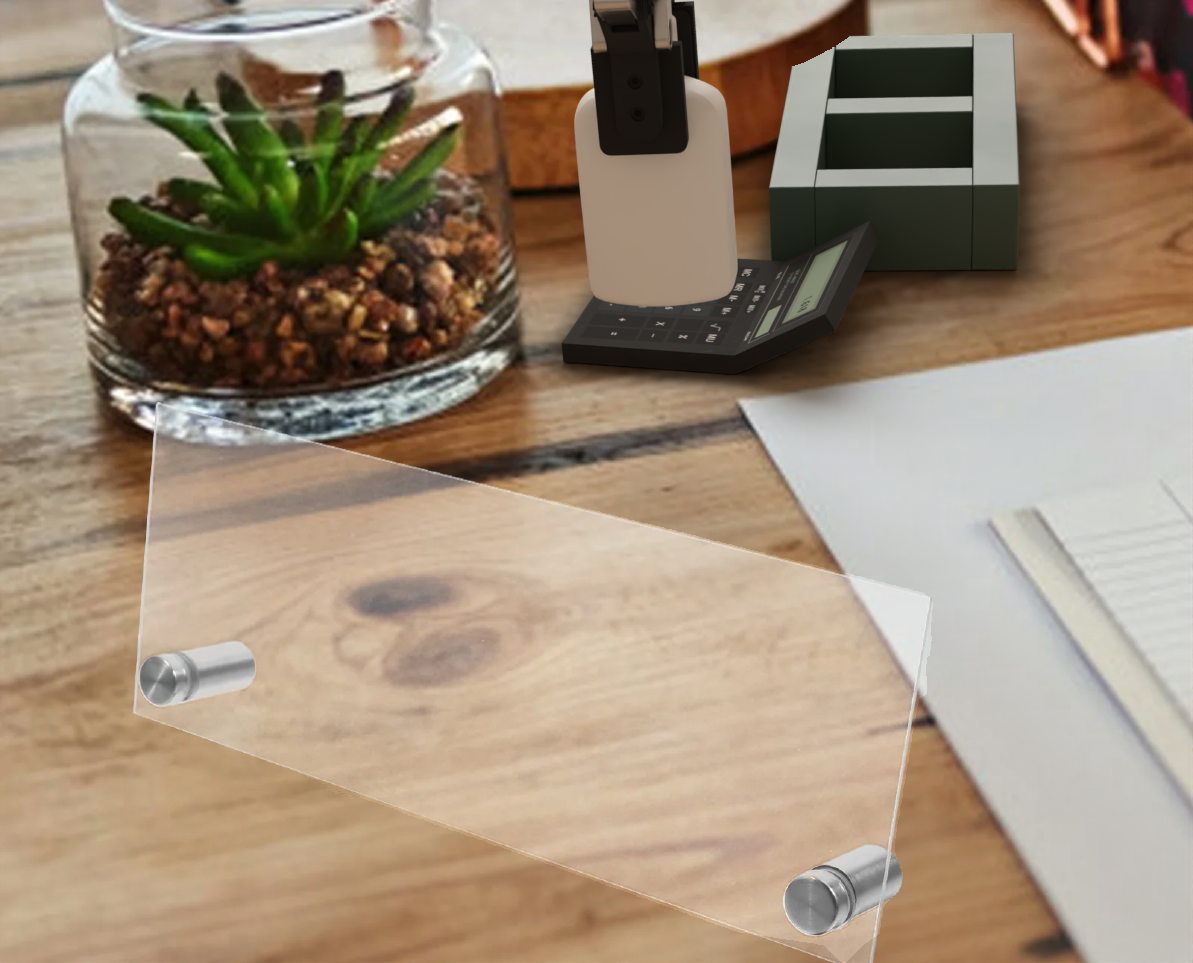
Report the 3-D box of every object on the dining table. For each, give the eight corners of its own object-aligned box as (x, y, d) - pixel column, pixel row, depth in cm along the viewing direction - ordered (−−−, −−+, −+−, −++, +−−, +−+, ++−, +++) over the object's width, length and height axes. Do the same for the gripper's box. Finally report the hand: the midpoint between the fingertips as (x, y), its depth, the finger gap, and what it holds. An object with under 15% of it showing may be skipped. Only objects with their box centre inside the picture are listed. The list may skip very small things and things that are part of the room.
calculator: (624, 269, 105) (620, 206, 104) (880, 284, 102) (879, 221, 100) (563, 361, 98) (557, 296, 96) (836, 381, 95) (835, 314, 93)
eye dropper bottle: (640, 254, 93) (613, -44, 86) (757, 281, 90) (738, -27, 83) (572, 297, 90) (540, -8, 83) (690, 326, 87) (666, 12, 80)
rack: (1011, 108, 119) (1013, 32, 117) (1017, 270, 102) (1019, 184, 100) (799, 112, 120) (797, 36, 118) (771, 271, 104) (768, 187, 102)
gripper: (696, -360, 69) (733, 217, 79) (743, -452, 83) (769, 48, 93) (448, -342, 70) (515, 223, 80) (535, -436, 84) (583, 56, 94)
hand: (651, 124), depth 86 cm, fingers closed on eye dropper bottle, 3 cm apart
